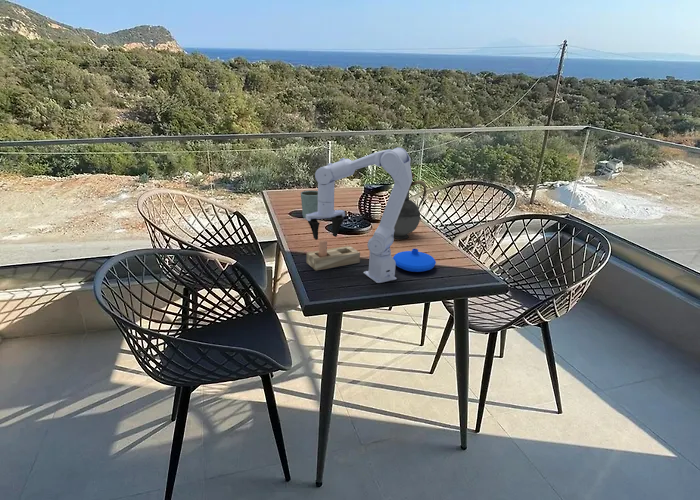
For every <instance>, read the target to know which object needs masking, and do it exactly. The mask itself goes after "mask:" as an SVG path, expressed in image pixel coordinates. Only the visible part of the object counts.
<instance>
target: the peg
mask: <svg viewBox="0 0 700 500" xmlns="http://www.w3.org/2000/svg"><path fill="white" fill-rule="evenodd" d="M327 249H328V241H327V240H325V239H321V240H319V241H318V251H319V256H318V257H326V256H327Z"/></svg>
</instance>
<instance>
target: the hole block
mask: <svg viewBox="0 0 700 500" xmlns="http://www.w3.org/2000/svg"><path fill="white" fill-rule="evenodd" d="M318 256H319V250H314V251H309V252H306V264H307V265H308V266H310V267H311V268H312V269H313V270H314V271H321V270H329V269H332V268H338V267H344V266H348V265H353V264H359V263H361V262H360V260H361V252H360V251H358V250H357V249H355V248H354V247H353V246H351V245H345V246H339V247H333V248H327V256H326V257H318Z"/></svg>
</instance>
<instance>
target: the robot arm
mask: <svg viewBox="0 0 700 500" xmlns="http://www.w3.org/2000/svg"><path fill="white" fill-rule="evenodd" d="M411 161H412V158H411V156H410V155H409V154H408V151H407V150H406V149H405V148H403V147H394V148H393V149H392V148H390V149H383V150H379V151H376V152H372V153H370V154H368V155H364V156H363V157H360V158H357V159H354V160H352V159H350V158H345V157H342V158H340V159H339V160H338V161H336V162H333V163H332V162H329V163H327V165H323V166H320V167H318V168H317V169H316V170H315V173H314V176H315V177H314V178H315V180H316V182H317V191H318V212H314V213H310V214H306V219H305V220H306V221H307V223H308V224H309V226H310V229H311V232H312V237H313V239H314V240H316V241H317V240H319V229H320V228H319V227H320V222H319V221H318V220H321V219H330V218H331V224H332V225H331V226H332V228H331V230H332V231H331V234H332V236H333V237H335V238H337V237H338V233H339V230H340V227H341V226H342V224H343V222H344V221H345V220H344V217H345V216H346V211H345V210H343V209H340V210H339V209H338V210H337V209H335V186H336V184H335V182H336V181H338V180H339V181H340V180H342V179H344V178H347V177H350V176H354V174H355V172H356V171H357V170H359V169H362V168H366V167H367V168H368V167H369V166H374V165H375V166H376V167H378V168H380V167H382V169H384V171H385V172H387V173H388V174H389V175H390V176H391V178H392V180H393V181H394V183H393V186H392V189H391V192H390V195H389V198H388V200H387V203H386V205H385V207H386V208H385V207H384V209H385V210H384V209H383V211H384V213H383V212H382V215H381V219H380V221H379V224H378V226H377V228H376V229H375V231H374V233H373V235H372V237H370V238H369V239H368V241H367V244H366V245H367V249H368V251H369V256H368V257H369V259H368V270H365V271H363V275H365V276H367V277H368V278H369V279H371V280H372V281H373V282H374V283H377V284H381V283H385V282H390V281H395V280H397V277H396V267H397V266H396V262H395V260H394V259H393V256H392V249H391V246H393V243H394V242H395V241H394V240H395V238H394V237H393V235H394V231H395V230H394V227H395V224H396V221H397V219H398V216H399V214H400V211H401V209H402V206H403V203H404V201H405V198H406V196H407V193H408V190H409V188H410V185H411V183H412V181H413V179H412V173H413V172H412V173H411V171H412V169H411V168H412V167H411ZM410 189H411V188H410Z"/></svg>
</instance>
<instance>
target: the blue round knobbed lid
mask: <svg viewBox="0 0 700 500" xmlns="http://www.w3.org/2000/svg"><path fill="white" fill-rule="evenodd" d="M392 258H393V259H394V260H395V262H396V266H395V267H397V268H400V269H402V270H403V271H406V272H413V273H421V272H422V273H423V272H427V271H430V270H433V268H435V266H436V263H437V261H436V259H435V258H434V257H433V256H432V255H430V254H428V253H426V252H422V251H419V249H418V248H412V249H411V250H405V251H399V252H397V253H395V254H394V255H393V256H392Z"/></svg>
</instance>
